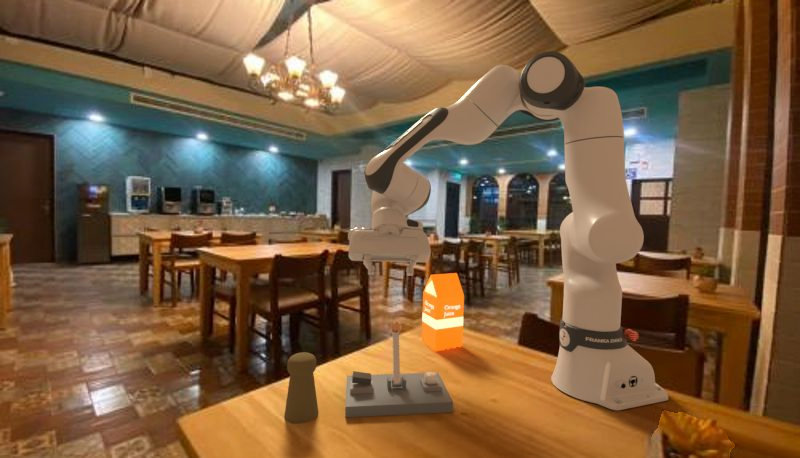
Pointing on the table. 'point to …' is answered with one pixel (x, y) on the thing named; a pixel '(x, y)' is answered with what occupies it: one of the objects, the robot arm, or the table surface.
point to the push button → (430, 378)
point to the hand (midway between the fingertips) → (390, 274)
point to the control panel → (396, 396)
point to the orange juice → (443, 312)
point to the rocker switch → (361, 378)
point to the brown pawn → (301, 389)
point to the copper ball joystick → (396, 355)
